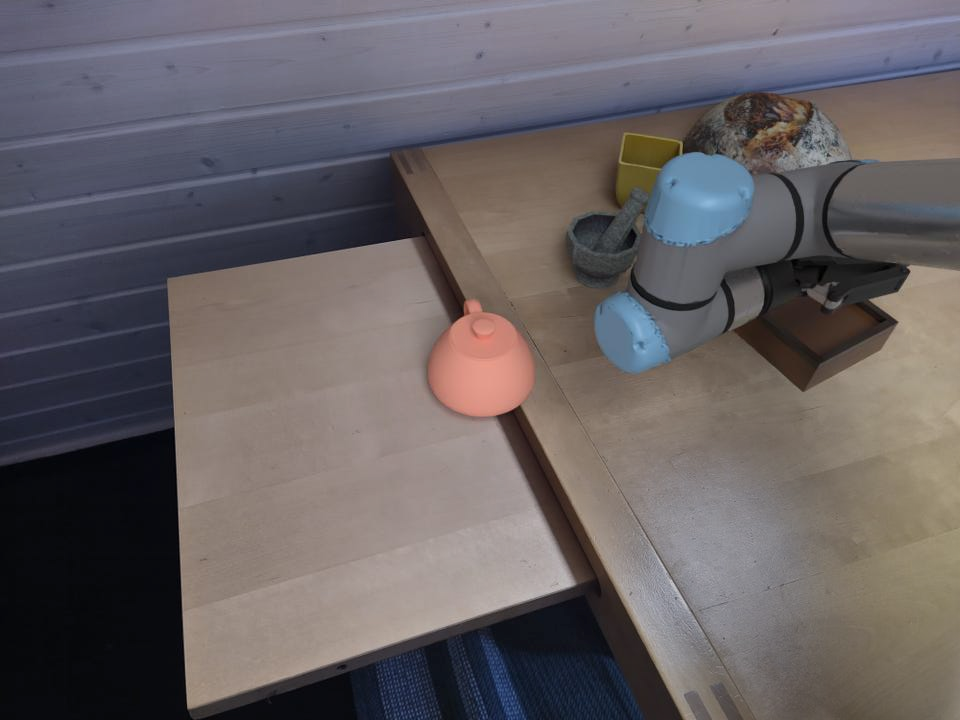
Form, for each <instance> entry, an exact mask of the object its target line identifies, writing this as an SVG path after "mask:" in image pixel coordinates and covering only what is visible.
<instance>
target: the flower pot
mask: <svg viewBox="0 0 960 720" xmlns="http://www.w3.org/2000/svg"><path fill="white" fill-rule="evenodd" d="M683 143H684V142H683V141H682V140H678V139H672V138H666V137H660V136H654V135H647V134H641V133H636V132H635V133H634V132H623V134H622V139H621V146H620V152H619V156H618V161H617V169H616V181H615V196H616V201H617V203H618V206H619V208H620V209H622V207H623V206H624V204H625V203H626V202H627V200H628V199H629V197H630V192H631V191H632V189H633V188H639V189H641V190H643V191H645V192H646V193H648V194H649V195H651V192H652V189H653V186H654V184H655V182H656V179H657V176H658V174H659V172H660V170H661V169H662V167H663V166H664V165H665V164H666V163H667V162H668V161H670V160H671V159H673V158H675V157H677V156H679V155H682V154H683V149H684V148H683V147H684V144H683ZM646 206H647V204H646V205H645V206H644V208H643V209H642V211H641V213H643V214H645V208H646Z"/></svg>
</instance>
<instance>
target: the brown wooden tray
mask: <svg viewBox="0 0 960 720" xmlns="http://www.w3.org/2000/svg"><path fill="white" fill-rule="evenodd" d="M821 306H822V304H821V303H820V302H818V301H816V300H815V299H813V298H811V297H810V296H809V297H806V298H794V299H792V300H791V301H789V302H788V303H786V304H785V305H783V306H782V307H780V308H778V309H776V310H774V311H772V312H770V313H767V314H765V315H763V316H761V317H759V318H756V319H754V320H752V321H750V322H748V323H746V324H744V325H741V326H739V327H737V328H735V329H733V330H732V332H734V333H735V334H736V335H738V336H739V337H740V338H741V339H742V340H743V341H744V342H745V343H747V344H748V345H749V346H750V347H752V349H754V351H756V352H757V353H758V354H759V355H760V356H761V357H763V358H764V359H765V360H767V362H768V363H770V364H771V365H772V366H773V367H774V368H775V369H776V370H778V371H779V372H780V373H781V374H782V375H784V377H786V378H787V379H788V380H789V381H790V382H791V383H792V384H793V385H795V386H796V387H797V388H798V389H799V390H800V391H801V392H802V393H805V392H807V391H809V390H810V389H812V388H813V387H815V386H818V385H819V384H821V383H823V382H824V381H826V380H828V379H831V378H832V377H833V376H836V375H838V374H839V373H841V372H843V371H845V370H848V368H851V367H852V366H854V365H855V364H858V363H859V362H861V361H863V360H865V359H867V358H868V357H870V356H872V355H874V354H876V353H878V352H879V351H881V350H882V349H883V347H884V346H885V344H886V343H887V341H888V340H889V338H890V336H891V335H892V333H893V332H894V330H895V329H896V328H897V325H899V323H900V321H898V320H897V319H896V318H894V317H893V316H892V315H890V314H889V313H888V312H886V311H885V310H884V309H882V308H881V307H879V306H878V305H876V304H875V303H874V302H872V301H871V300H870V299H869V300H865V301H861V302H857V303H854V304H850V305H846V306H842V307H840V308H839V309H838V310H836V311H835V312H834V313H832V314H831V315H826V314H823V313H822V312H821V311H820V308H821Z"/></svg>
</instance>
